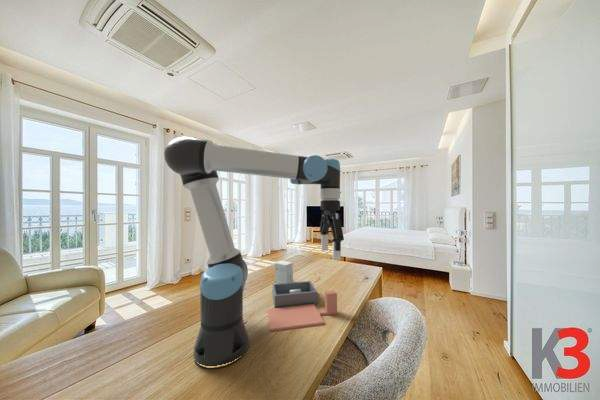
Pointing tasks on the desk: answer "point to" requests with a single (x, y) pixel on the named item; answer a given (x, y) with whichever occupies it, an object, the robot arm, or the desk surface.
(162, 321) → the desk surface
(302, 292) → the tub
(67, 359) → the desk surface
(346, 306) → the desk surface
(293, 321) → the lid
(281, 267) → the small box
